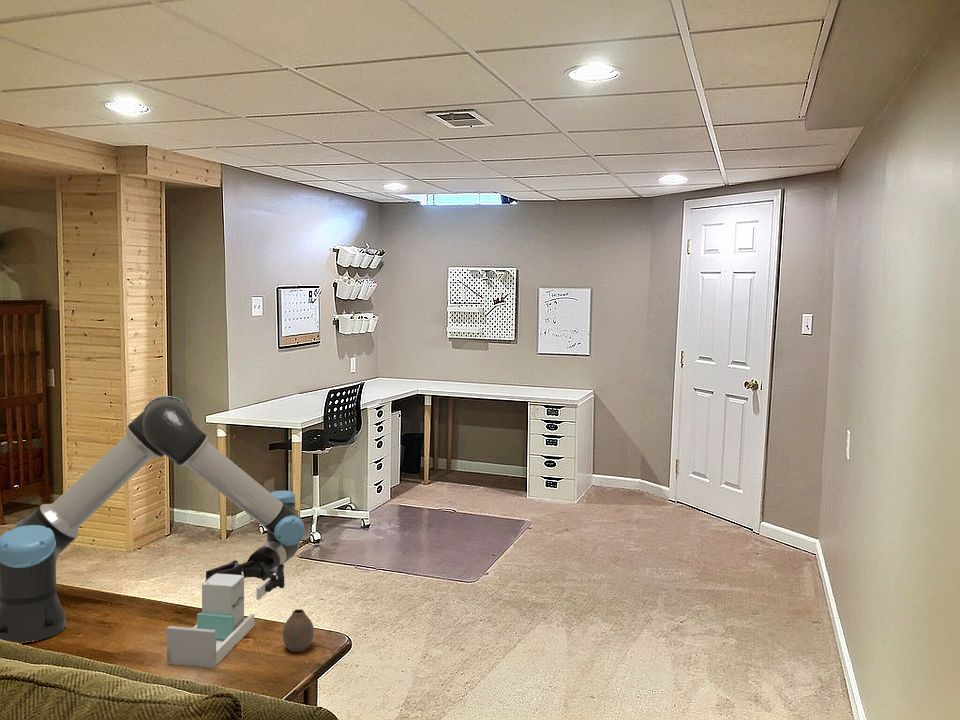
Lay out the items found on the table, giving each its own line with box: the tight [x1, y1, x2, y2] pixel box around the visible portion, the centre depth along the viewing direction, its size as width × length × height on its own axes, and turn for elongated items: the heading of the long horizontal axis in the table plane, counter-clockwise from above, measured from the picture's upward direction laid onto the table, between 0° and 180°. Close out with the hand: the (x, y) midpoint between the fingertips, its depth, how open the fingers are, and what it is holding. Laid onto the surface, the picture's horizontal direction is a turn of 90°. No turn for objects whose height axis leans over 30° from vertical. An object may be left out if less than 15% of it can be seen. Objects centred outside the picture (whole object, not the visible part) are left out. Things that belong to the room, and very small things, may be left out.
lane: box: [166, 613, 255, 669], centre depth 180 cm, size 21×11×8 cm, turn 173°
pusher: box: [196, 612, 234, 640], centre depth 181 cm, size 1×8×6 cm, turn 83°
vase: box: [282, 608, 315, 653], centre depth 179 cm, size 7×7×9 cm
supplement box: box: [201, 574, 245, 630], centre depth 185 cm, size 7×7×13 cm
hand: (230, 591), depth 187 cm, fingers open, 13 cm apart
